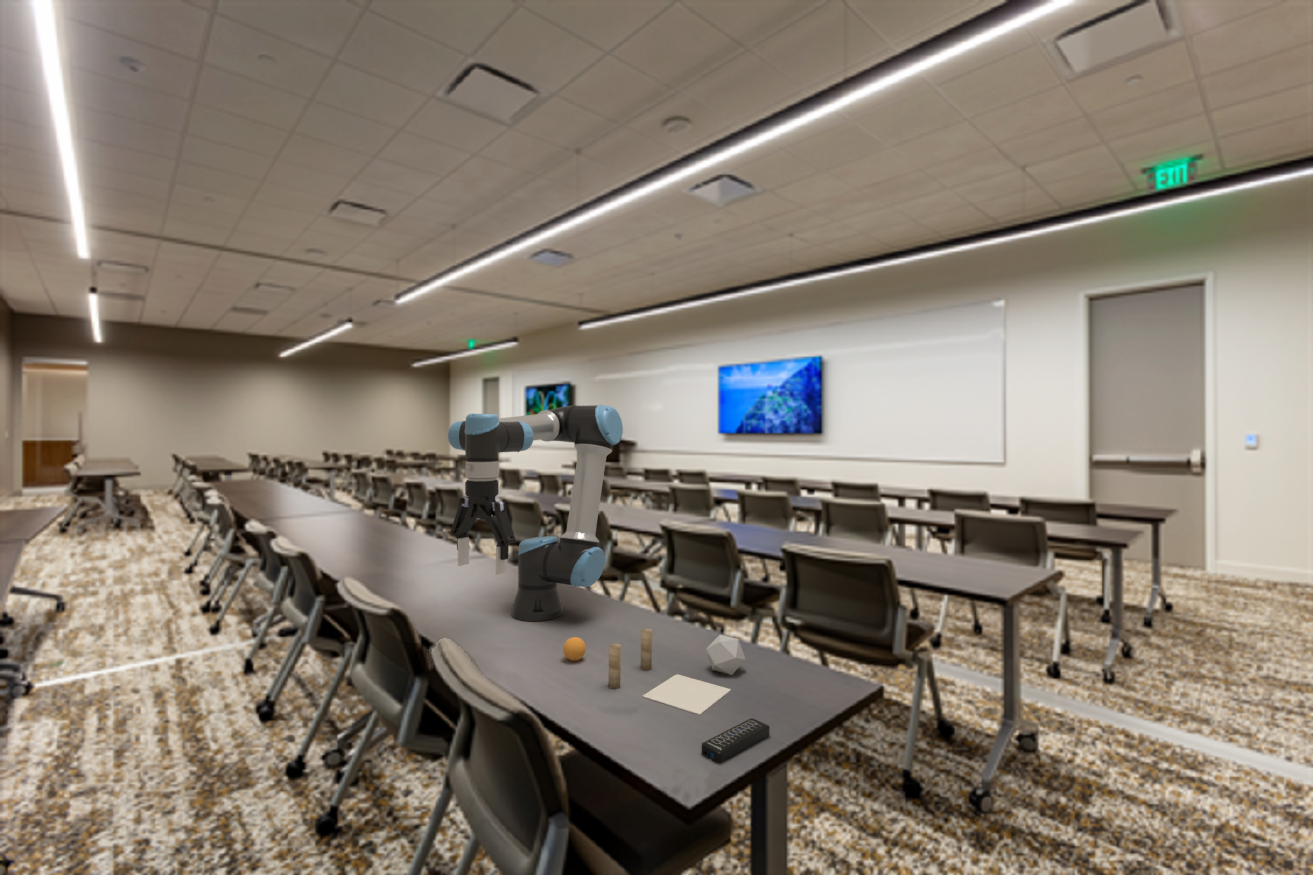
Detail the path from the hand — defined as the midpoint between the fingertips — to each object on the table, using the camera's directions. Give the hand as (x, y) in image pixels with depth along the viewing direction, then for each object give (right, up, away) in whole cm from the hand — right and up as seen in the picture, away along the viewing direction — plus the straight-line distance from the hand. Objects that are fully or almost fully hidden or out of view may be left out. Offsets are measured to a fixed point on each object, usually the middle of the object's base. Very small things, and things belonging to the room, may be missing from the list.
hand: (481, 569), depth 143 cm
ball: (+21, -21, +5) cm, 30 cm away
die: (+57, -24, 0) cm, 62 cm away
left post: (+32, -24, -9) cm, 41 cm away
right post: (+39, -24, +1) cm, 45 cm away
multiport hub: (+56, -25, -33) cm, 70 cm away
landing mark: (+48, -24, -13) cm, 55 cm away
